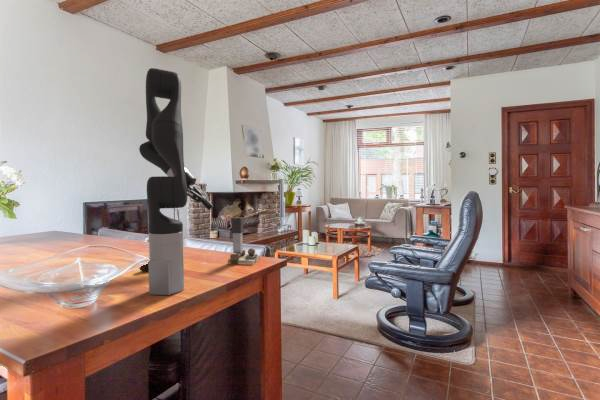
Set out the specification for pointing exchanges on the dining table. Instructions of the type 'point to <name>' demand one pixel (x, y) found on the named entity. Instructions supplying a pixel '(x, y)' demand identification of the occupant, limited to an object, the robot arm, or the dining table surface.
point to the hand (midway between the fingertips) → (211, 207)
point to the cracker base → (244, 258)
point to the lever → (237, 235)
